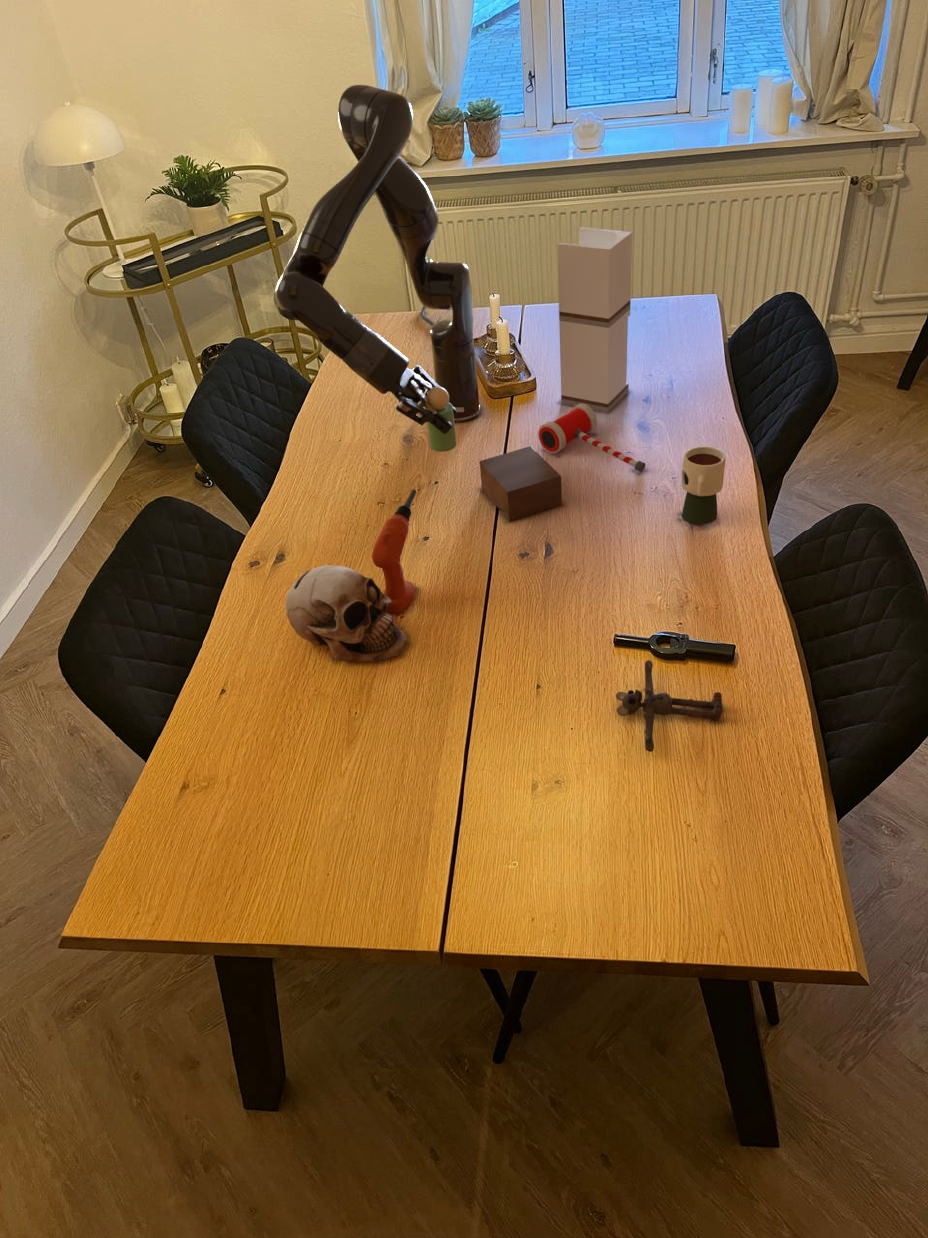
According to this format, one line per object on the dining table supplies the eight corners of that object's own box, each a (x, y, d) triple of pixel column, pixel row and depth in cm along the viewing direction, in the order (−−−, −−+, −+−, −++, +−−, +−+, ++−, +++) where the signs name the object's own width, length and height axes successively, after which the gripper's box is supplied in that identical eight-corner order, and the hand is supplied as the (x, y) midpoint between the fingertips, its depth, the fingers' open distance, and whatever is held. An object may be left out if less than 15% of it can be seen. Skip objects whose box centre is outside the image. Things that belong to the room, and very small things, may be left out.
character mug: (682, 500, 173) (686, 439, 165) (721, 503, 171) (727, 441, 163) (676, 533, 165) (680, 470, 157) (717, 537, 163) (723, 473, 155)
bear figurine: (727, 747, 122) (617, 734, 124) (721, 768, 125) (613, 756, 126) (718, 655, 136) (619, 645, 137) (713, 676, 138) (616, 666, 140)
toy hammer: (661, 459, 185) (662, 431, 181) (624, 484, 179) (624, 455, 175) (574, 426, 198) (574, 399, 194) (537, 448, 193) (536, 420, 189)
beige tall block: (628, 391, 208) (632, 231, 186) (607, 412, 202) (609, 249, 179) (582, 383, 214) (581, 226, 191) (561, 403, 207) (557, 243, 185)
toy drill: (437, 543, 167) (425, 478, 156) (405, 618, 155) (389, 553, 144) (412, 541, 168) (398, 475, 157) (378, 615, 156) (360, 550, 145)
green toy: (426, 442, 169) (419, 385, 161) (450, 435, 170) (444, 378, 162) (435, 454, 165) (428, 396, 158) (460, 447, 166) (454, 389, 159)
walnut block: (482, 489, 182) (479, 460, 178) (532, 474, 185) (530, 445, 181) (509, 521, 173) (507, 492, 169) (561, 505, 175) (561, 475, 171)
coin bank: (411, 653, 146) (390, 587, 138) (306, 686, 145) (278, 622, 137) (394, 598, 159) (374, 534, 150) (298, 628, 158) (272, 566, 149)
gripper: (379, 363, 151) (459, 428, 157) (396, 327, 162) (470, 389, 167) (353, 394, 155) (432, 456, 161) (371, 357, 166) (444, 416, 172)
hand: (451, 421), depth 164 cm, fingers closed on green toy, 4 cm apart
